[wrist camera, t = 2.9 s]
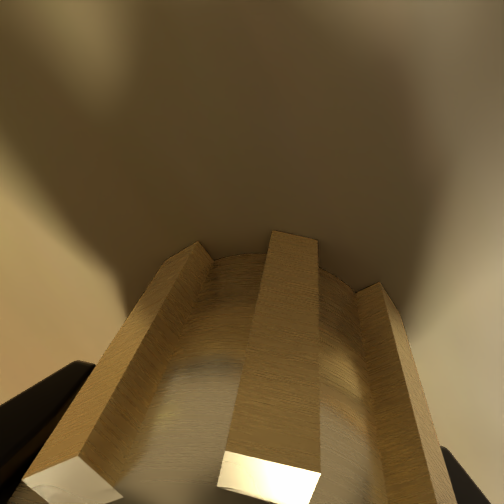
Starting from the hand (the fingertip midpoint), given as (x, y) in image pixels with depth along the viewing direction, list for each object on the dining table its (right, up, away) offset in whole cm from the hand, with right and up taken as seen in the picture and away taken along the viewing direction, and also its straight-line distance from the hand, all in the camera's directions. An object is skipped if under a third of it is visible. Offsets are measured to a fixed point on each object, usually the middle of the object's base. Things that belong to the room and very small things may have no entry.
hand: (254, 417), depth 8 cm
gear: (0, +1, +2) cm, 2 cm away
